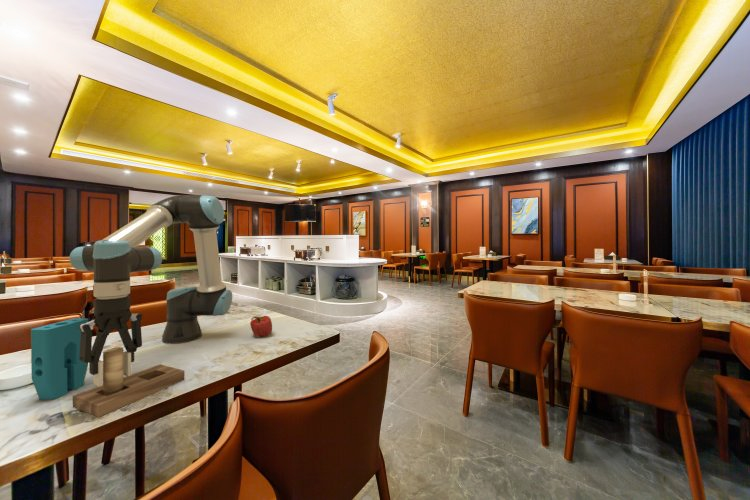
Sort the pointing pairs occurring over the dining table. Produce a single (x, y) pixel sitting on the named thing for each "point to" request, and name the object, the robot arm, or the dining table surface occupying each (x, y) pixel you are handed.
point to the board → (128, 390)
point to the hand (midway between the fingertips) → (113, 379)
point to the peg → (112, 371)
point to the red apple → (261, 326)
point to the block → (57, 358)
